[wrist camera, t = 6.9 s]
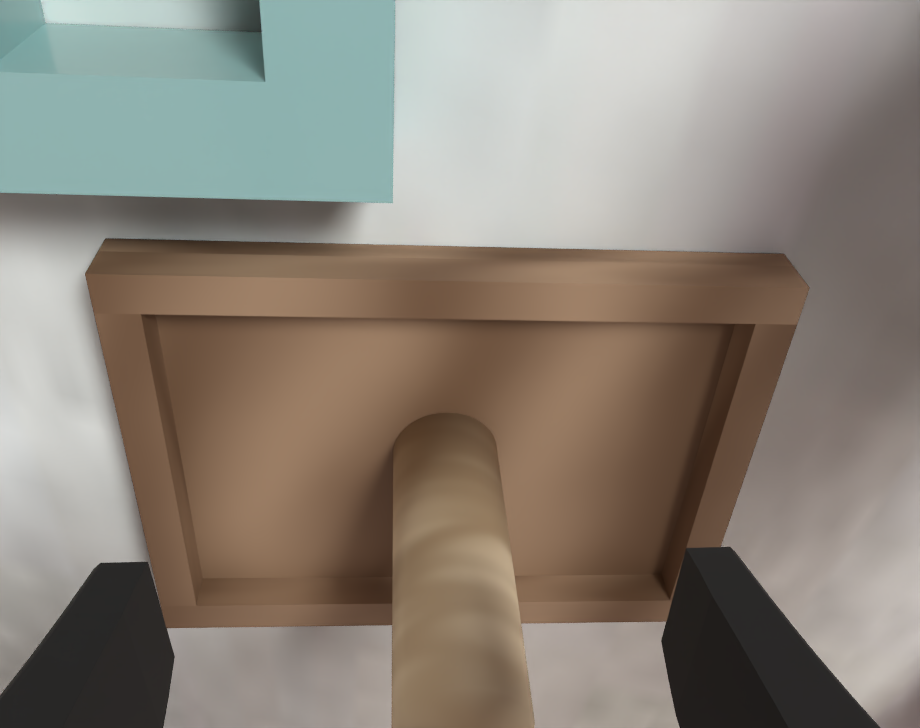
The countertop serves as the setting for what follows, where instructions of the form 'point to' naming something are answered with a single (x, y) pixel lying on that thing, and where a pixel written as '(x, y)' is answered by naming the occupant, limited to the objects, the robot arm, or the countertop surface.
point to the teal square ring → (202, 105)
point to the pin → (454, 583)
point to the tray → (432, 412)
